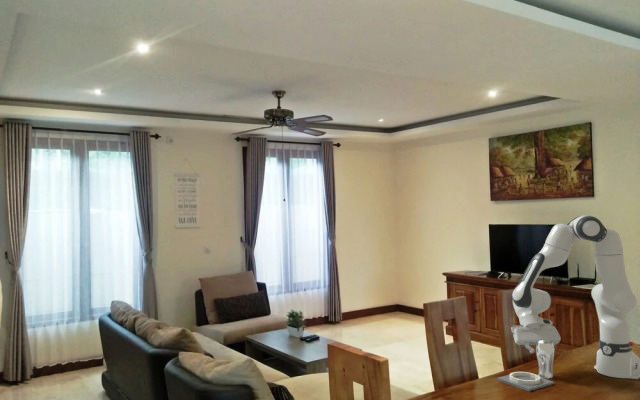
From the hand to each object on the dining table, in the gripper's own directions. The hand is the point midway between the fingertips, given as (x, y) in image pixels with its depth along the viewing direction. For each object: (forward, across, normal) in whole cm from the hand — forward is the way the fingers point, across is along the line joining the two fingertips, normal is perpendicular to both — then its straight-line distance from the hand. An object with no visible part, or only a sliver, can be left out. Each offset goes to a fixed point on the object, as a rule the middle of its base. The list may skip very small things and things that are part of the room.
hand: (543, 352), depth 217 cm
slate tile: (+13, -12, +2) cm, 18 cm away
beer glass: (+8, 0, +6) cm, 10 cm away
